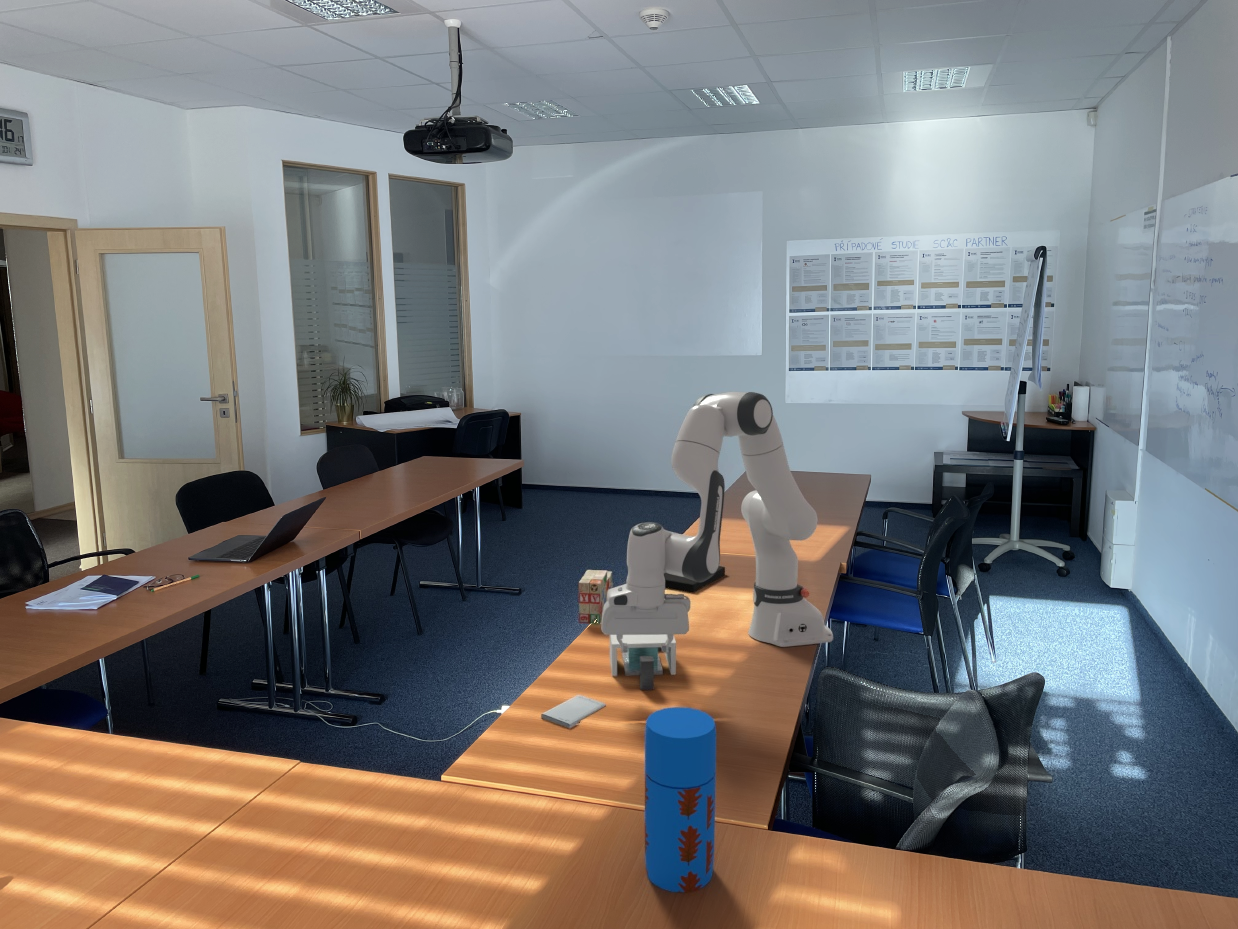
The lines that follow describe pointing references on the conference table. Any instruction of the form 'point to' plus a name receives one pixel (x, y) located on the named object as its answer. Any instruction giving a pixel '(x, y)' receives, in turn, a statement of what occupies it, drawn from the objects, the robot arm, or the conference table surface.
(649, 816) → the thermos
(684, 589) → the external hard drive
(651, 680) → the teal block with handle
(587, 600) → the stack of blocks
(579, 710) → the hard drive
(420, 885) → the conference table surface
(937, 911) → the conference table surface
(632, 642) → the tunnel
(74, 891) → the conference table surface
